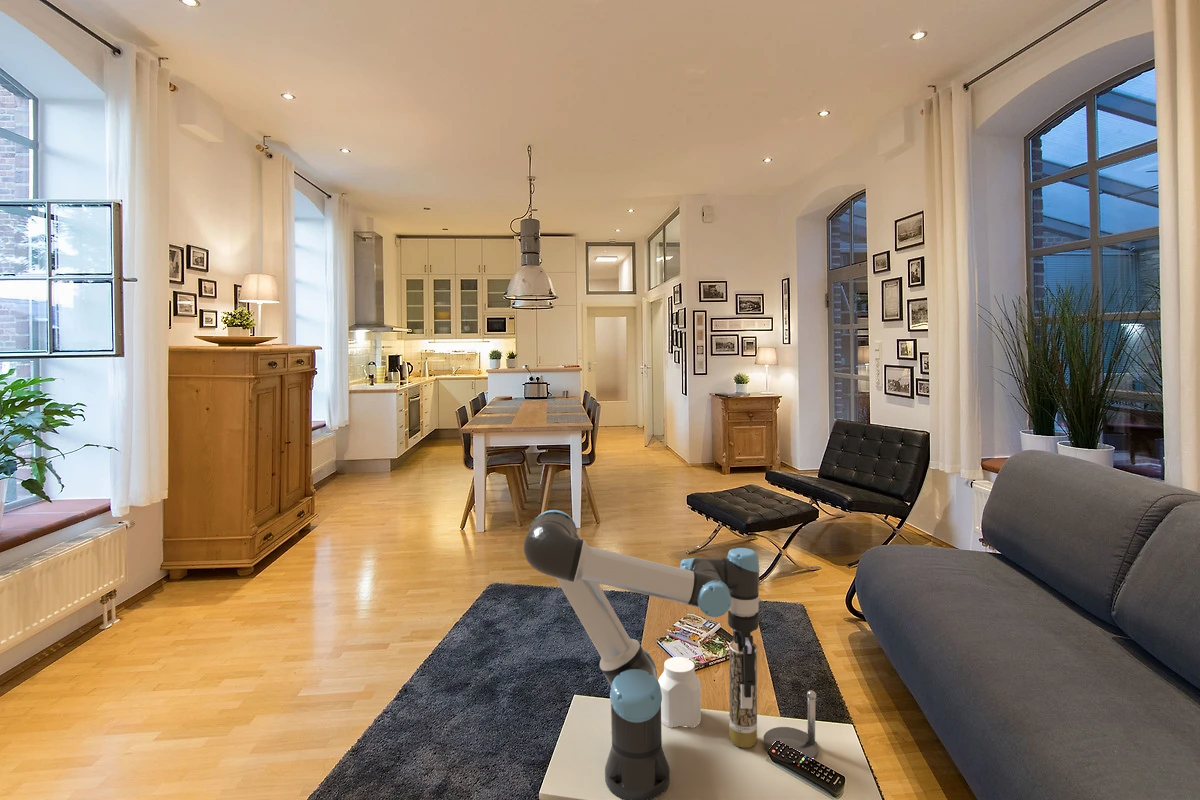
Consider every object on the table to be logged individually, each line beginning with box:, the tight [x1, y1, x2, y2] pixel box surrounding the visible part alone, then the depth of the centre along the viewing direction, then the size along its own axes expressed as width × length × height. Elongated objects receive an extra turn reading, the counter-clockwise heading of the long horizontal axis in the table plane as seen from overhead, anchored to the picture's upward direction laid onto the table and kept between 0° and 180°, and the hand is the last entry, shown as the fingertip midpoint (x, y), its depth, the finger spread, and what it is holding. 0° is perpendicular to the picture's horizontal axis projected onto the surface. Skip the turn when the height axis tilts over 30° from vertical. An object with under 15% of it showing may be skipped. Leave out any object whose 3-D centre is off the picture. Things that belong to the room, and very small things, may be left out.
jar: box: [657, 656, 702, 729], centre depth 166 cm, size 12×10×15 cm
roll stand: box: [762, 689, 819, 760], centre depth 152 cm, size 13×13×14 cm
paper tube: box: [729, 640, 758, 749], centre depth 154 cm, size 7×7×25 cm
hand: (743, 699), depth 154 cm, fingers closed on paper tube, 7 cm apart
